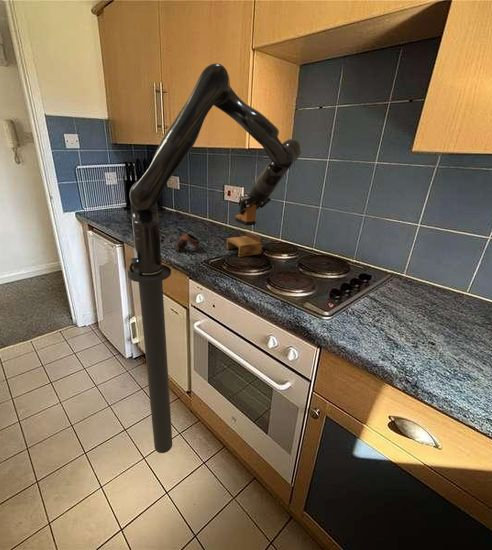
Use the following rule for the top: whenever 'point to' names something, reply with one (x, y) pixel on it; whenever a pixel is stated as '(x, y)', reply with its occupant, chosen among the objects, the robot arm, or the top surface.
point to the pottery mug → (184, 241)
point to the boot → (247, 216)
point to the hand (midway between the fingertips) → (246, 212)
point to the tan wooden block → (246, 244)
